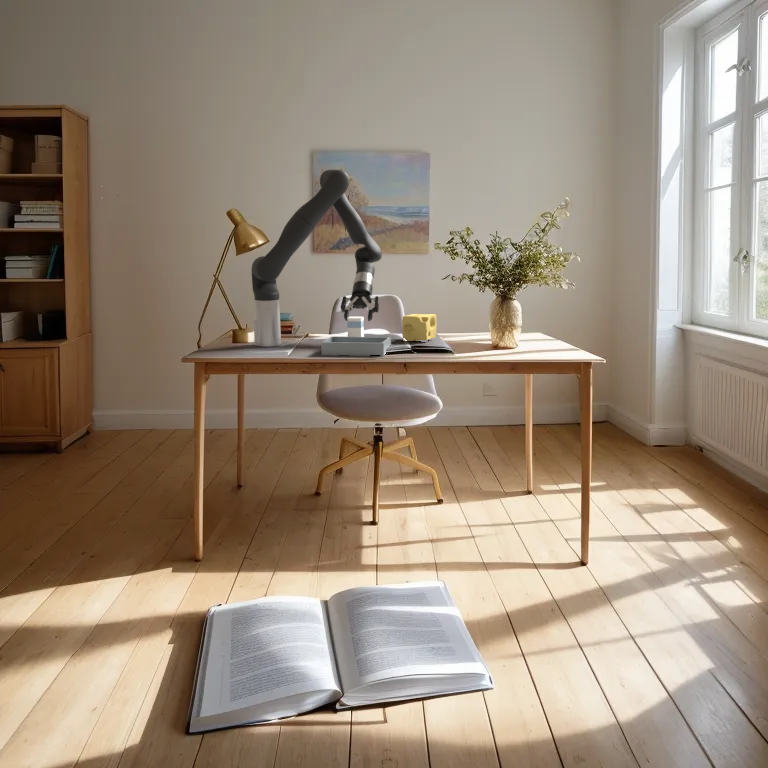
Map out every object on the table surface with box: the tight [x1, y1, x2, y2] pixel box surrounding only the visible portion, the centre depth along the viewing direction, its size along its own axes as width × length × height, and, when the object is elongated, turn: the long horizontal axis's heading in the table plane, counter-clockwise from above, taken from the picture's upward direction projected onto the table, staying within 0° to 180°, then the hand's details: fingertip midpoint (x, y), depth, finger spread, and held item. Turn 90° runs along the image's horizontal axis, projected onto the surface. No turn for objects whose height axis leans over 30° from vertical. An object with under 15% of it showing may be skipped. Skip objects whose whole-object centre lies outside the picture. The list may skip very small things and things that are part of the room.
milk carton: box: [346, 316, 365, 337], centre depth 303 cm, size 5×5×11 cm
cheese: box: [401, 313, 438, 342], centre depth 317 cm, size 10×11×10 cm
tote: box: [320, 336, 392, 357], centre depth 290 cm, size 22×15×4 cm
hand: (357, 319), depth 305 cm, fingers open, 8 cm apart
